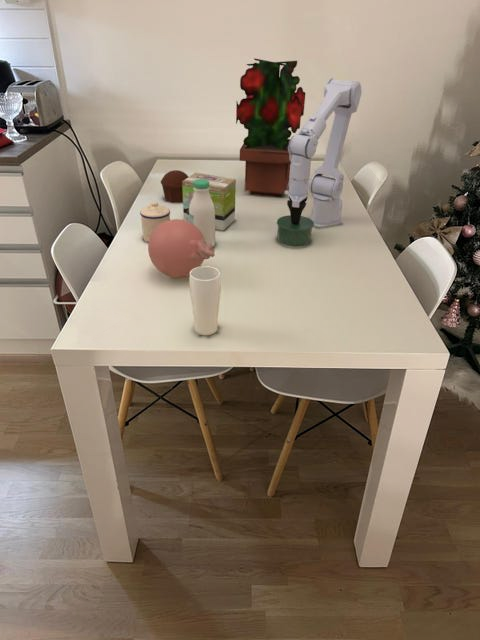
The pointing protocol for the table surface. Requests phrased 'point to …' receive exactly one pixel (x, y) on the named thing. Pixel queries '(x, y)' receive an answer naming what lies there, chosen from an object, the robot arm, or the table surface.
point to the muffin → (173, 186)
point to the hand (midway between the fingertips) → (295, 221)
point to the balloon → (178, 248)
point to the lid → (302, 226)
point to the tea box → (213, 197)
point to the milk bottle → (203, 210)
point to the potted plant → (269, 124)
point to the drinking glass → (205, 298)
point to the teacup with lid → (153, 218)
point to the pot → (294, 237)
